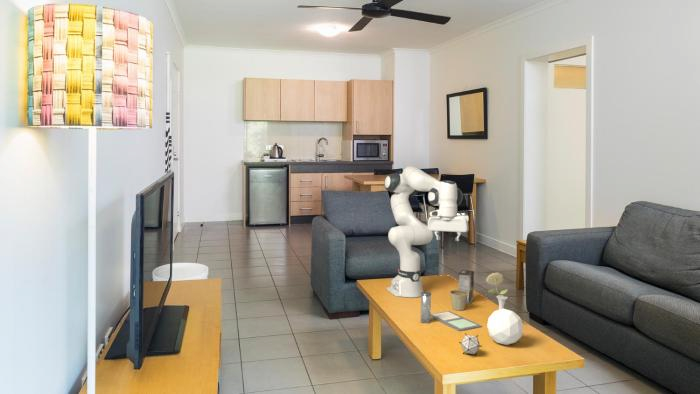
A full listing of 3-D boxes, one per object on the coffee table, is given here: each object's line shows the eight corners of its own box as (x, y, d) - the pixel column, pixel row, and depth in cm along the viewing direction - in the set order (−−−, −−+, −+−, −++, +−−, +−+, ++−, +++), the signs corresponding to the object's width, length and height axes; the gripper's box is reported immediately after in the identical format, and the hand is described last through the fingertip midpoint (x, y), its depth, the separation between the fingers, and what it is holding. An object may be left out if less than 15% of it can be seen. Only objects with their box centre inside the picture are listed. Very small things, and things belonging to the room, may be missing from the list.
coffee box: (461, 298, 281) (462, 269, 280) (473, 299, 278) (474, 270, 277) (457, 302, 273) (458, 272, 271) (469, 304, 270) (470, 274, 268)
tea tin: (418, 321, 243) (418, 292, 242) (426, 319, 245) (427, 291, 244) (424, 324, 239) (424, 294, 237) (432, 322, 241) (433, 293, 240)
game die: (465, 361, 206) (454, 338, 210) (484, 354, 206) (473, 330, 210) (467, 359, 198) (456, 334, 202) (487, 351, 198) (475, 327, 202)
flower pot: (468, 312, 257) (468, 295, 256) (449, 311, 258) (449, 294, 258) (467, 306, 266) (468, 290, 265) (449, 305, 268) (449, 289, 267)
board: (427, 315, 251) (428, 314, 251) (449, 312, 257) (449, 310, 257) (459, 331, 230) (459, 329, 230) (481, 327, 236) (481, 325, 236)
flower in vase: (514, 323, 241) (516, 271, 239) (513, 331, 230) (515, 277, 228) (485, 320, 245) (487, 268, 243) (483, 327, 235) (485, 274, 232)
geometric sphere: (494, 354, 217) (474, 323, 221) (518, 336, 224) (498, 306, 227) (512, 349, 205) (490, 316, 208) (537, 330, 211) (515, 298, 215)
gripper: (470, 213, 254) (469, 241, 254) (430, 212, 263) (430, 239, 263) (467, 213, 249) (466, 242, 249) (426, 212, 258) (426, 239, 258)
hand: (447, 240), depth 256 cm, fingers open, 8 cm apart
